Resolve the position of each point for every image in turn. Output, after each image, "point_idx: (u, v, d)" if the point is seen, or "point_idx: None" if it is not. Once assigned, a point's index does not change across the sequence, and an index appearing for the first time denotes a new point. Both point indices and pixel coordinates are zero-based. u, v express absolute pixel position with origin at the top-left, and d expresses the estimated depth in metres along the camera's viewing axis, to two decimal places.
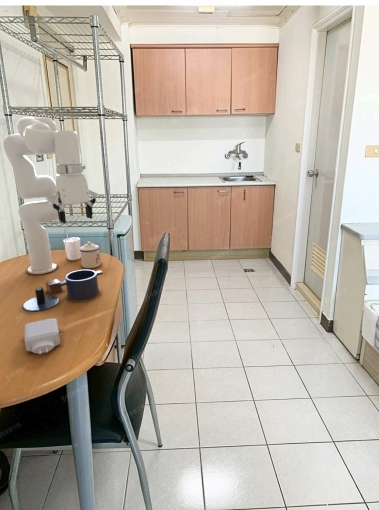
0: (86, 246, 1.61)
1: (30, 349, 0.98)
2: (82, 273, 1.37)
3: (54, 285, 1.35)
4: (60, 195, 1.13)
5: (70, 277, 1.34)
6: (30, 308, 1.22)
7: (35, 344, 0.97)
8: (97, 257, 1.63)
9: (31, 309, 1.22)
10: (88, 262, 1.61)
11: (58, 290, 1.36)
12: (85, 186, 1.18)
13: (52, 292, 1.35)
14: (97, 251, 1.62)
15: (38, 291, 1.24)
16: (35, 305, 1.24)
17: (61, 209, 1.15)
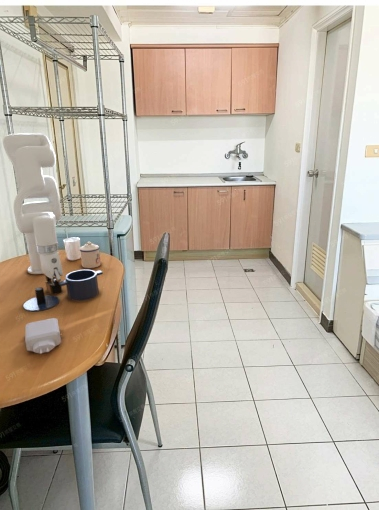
0: (86, 246, 1.61)
1: (31, 349, 0.98)
2: (82, 273, 1.37)
3: None
4: None
5: (70, 277, 1.34)
6: (30, 308, 1.22)
7: (36, 344, 0.97)
8: (97, 257, 1.63)
9: (31, 309, 1.22)
10: (88, 262, 1.61)
11: None
12: (47, 265, 1.30)
13: (52, 292, 1.35)
14: (97, 251, 1.62)
15: (38, 291, 1.24)
16: (35, 305, 1.24)
17: (46, 279, 1.37)
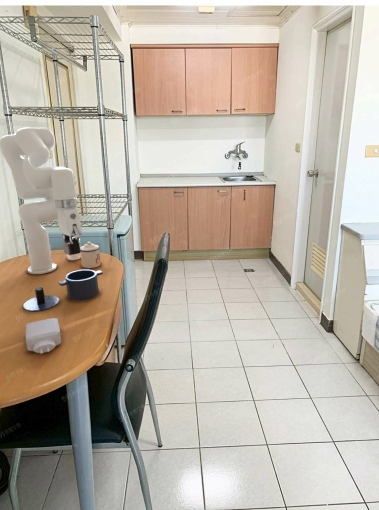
0: (86, 246, 1.61)
1: (31, 349, 0.98)
2: (82, 273, 1.37)
3: None
4: None
5: (70, 277, 1.34)
6: (30, 308, 1.22)
7: (36, 344, 0.97)
8: (97, 257, 1.63)
9: (31, 309, 1.22)
10: (88, 262, 1.61)
11: None
12: (66, 221, 1.21)
13: (70, 252, 1.26)
14: (97, 251, 1.62)
15: (38, 291, 1.24)
16: (35, 305, 1.24)
17: (64, 239, 1.29)
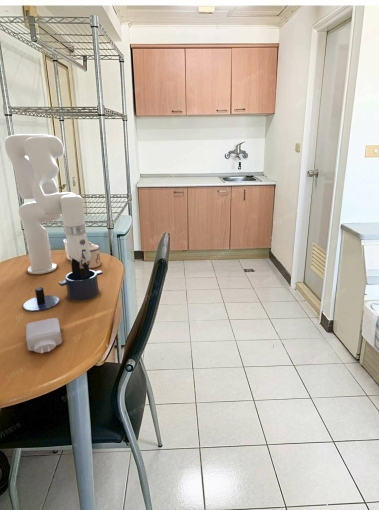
0: None
1: (32, 348, 0.98)
2: None
3: None
4: None
5: (70, 277, 1.34)
6: (30, 308, 1.22)
7: (37, 343, 0.97)
8: (97, 257, 1.63)
9: (31, 309, 1.22)
10: None
11: None
12: (75, 247, 1.24)
13: None
14: (97, 251, 1.62)
15: (38, 291, 1.24)
16: (35, 305, 1.24)
17: (71, 261, 1.32)
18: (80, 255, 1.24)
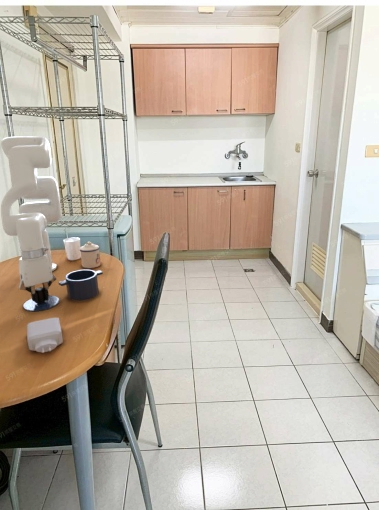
0: (86, 246, 1.61)
1: (33, 348, 0.98)
2: (82, 273, 1.37)
3: None
4: (23, 278, 1.19)
5: (70, 277, 1.34)
6: (30, 308, 1.22)
7: (38, 343, 0.97)
8: (97, 257, 1.63)
9: (31, 309, 1.22)
10: (88, 262, 1.61)
11: None
12: (48, 267, 1.23)
13: None
14: (97, 251, 1.62)
15: (38, 291, 1.24)
16: (35, 305, 1.24)
17: (34, 291, 1.22)
18: None
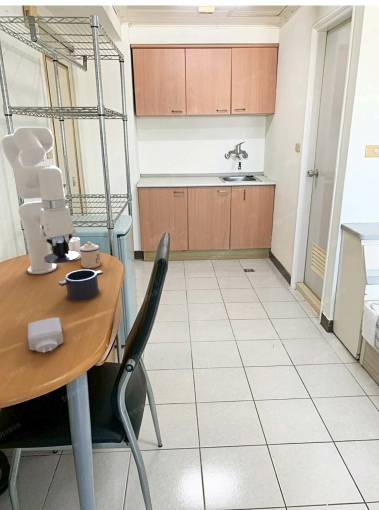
0: (86, 246, 1.61)
1: (33, 348, 0.98)
2: (82, 273, 1.37)
3: None
4: (44, 229, 1.18)
5: (70, 277, 1.34)
6: (51, 260, 1.22)
7: (38, 343, 0.98)
8: (97, 257, 1.63)
9: (52, 261, 1.21)
10: (88, 262, 1.61)
11: None
12: (69, 219, 1.22)
13: None
14: (97, 251, 1.62)
15: (59, 244, 1.23)
16: (56, 258, 1.24)
17: (54, 243, 1.22)
18: None
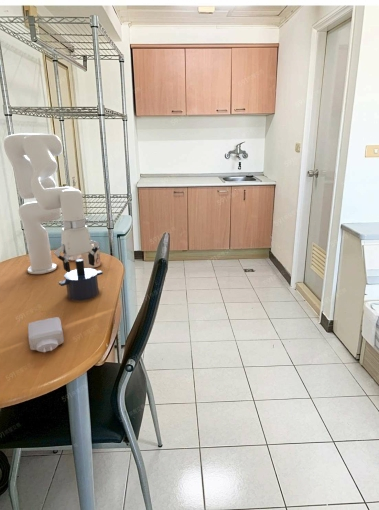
0: None
1: (34, 348, 0.99)
2: None
3: None
4: (65, 248, 1.24)
5: None
6: (71, 278, 1.27)
7: (39, 343, 0.98)
8: (97, 257, 1.63)
9: (73, 279, 1.26)
10: (88, 262, 1.61)
11: None
12: (88, 238, 1.28)
13: None
14: (97, 251, 1.62)
15: (79, 262, 1.29)
16: (75, 276, 1.29)
17: (66, 260, 1.25)
18: (91, 242, 1.30)
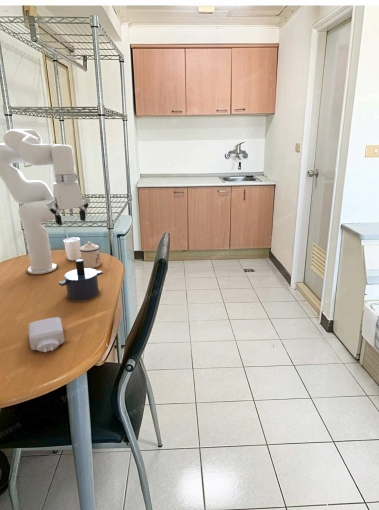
0: (86, 246, 1.61)
1: (35, 347, 0.99)
2: None
3: None
4: (57, 201, 1.30)
5: None
6: (71, 278, 1.27)
7: (40, 342, 0.98)
8: (97, 257, 1.63)
9: (73, 279, 1.26)
10: (88, 262, 1.61)
11: None
12: (79, 193, 1.34)
13: None
14: (97, 251, 1.62)
15: (79, 262, 1.29)
16: (75, 276, 1.29)
17: (57, 213, 1.31)
18: None
